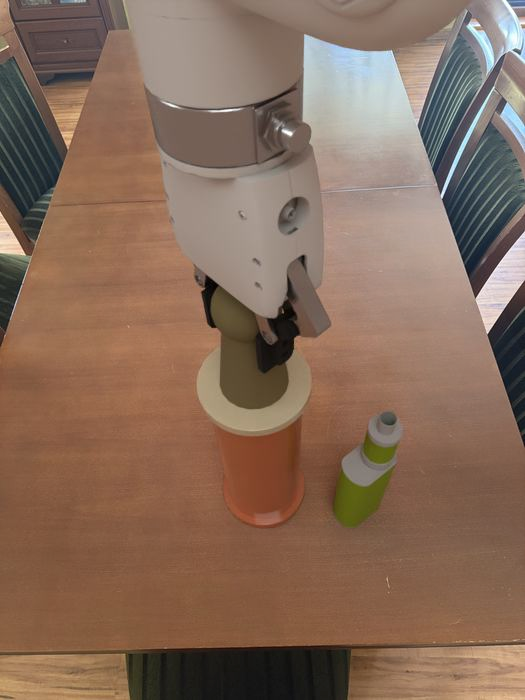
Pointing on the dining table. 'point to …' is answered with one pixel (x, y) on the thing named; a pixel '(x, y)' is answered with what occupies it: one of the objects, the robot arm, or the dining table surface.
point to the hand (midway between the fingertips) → (249, 337)
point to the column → (259, 445)
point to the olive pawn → (244, 356)
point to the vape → (367, 471)
